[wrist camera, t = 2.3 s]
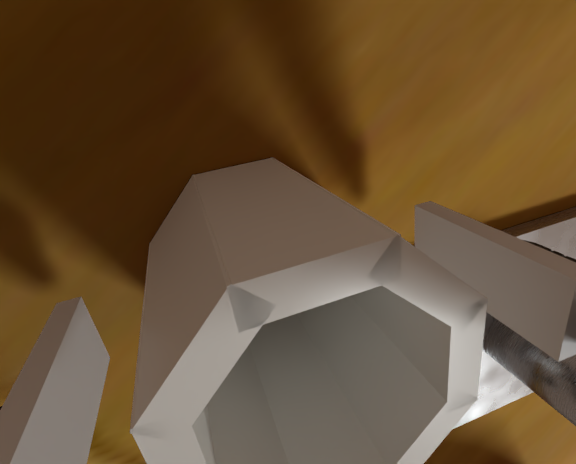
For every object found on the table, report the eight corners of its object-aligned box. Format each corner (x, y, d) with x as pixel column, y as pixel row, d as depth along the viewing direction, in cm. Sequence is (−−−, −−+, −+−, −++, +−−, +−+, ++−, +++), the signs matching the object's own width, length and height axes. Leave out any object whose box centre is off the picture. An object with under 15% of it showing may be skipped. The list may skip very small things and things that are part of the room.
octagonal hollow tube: (185, 349, 17) (205, 585, 9) (129, 188, 13) (78, 328, 5) (340, 298, 18) (472, 454, 11) (324, 145, 15) (499, 204, 7)
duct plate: (369, 450, 24) (439, 574, 18) (355, 276, 18) (452, 371, 12) (587, 352, 29) (704, 424, 22) (630, 189, 23) (804, 225, 17)
